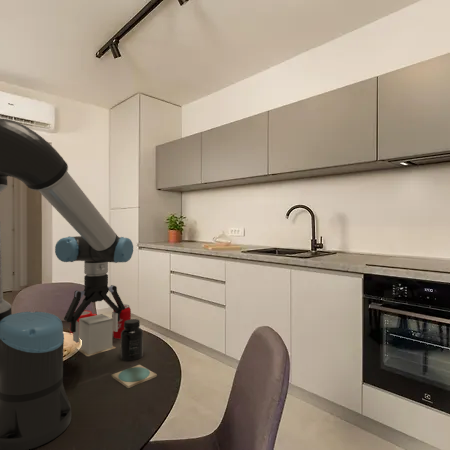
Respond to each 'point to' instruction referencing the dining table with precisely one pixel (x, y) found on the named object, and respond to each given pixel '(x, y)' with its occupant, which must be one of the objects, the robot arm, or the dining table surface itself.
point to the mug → (85, 315)
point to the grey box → (95, 333)
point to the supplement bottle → (131, 341)
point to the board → (96, 352)
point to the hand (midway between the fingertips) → (96, 335)
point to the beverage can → (122, 321)
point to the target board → (134, 376)
